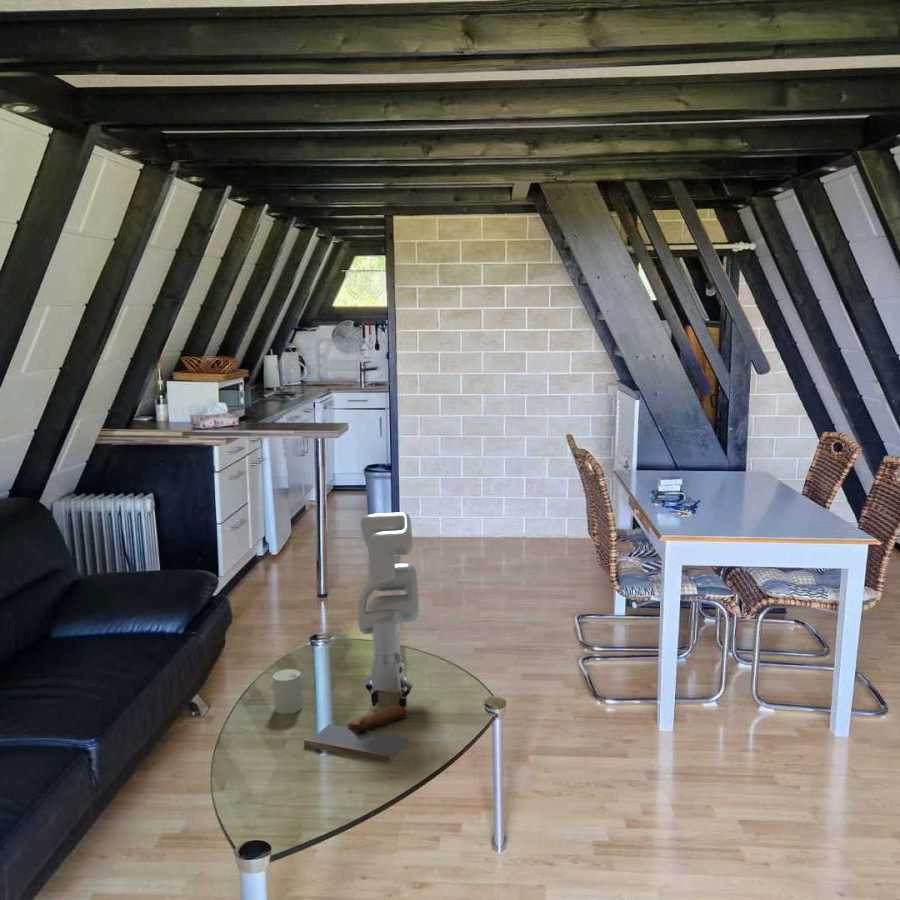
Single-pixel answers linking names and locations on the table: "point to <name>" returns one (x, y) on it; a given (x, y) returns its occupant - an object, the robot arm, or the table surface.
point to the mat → (362, 739)
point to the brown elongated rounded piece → (377, 718)
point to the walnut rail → (347, 750)
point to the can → (287, 691)
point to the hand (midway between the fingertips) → (388, 706)
